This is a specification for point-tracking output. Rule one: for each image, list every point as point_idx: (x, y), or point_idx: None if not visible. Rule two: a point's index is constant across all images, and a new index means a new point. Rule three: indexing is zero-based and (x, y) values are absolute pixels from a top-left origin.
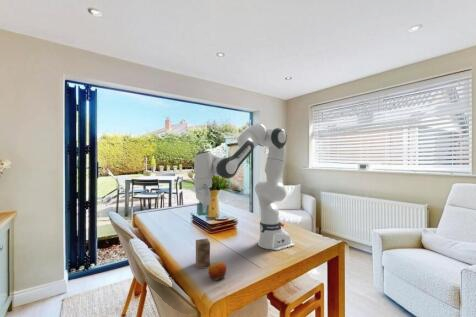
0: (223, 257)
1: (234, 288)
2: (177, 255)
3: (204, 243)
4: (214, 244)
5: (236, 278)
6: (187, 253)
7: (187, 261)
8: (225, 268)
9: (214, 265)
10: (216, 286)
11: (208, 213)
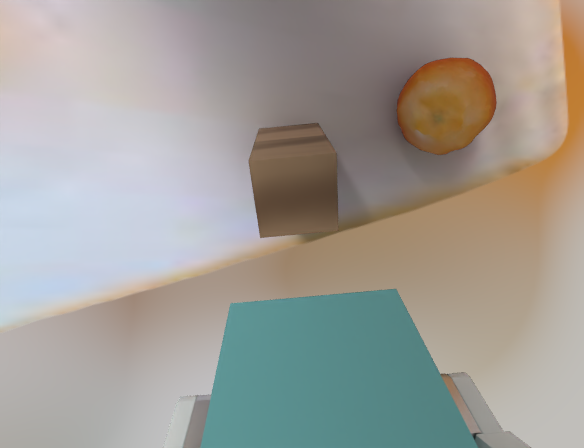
0: (226, 23)
1: (547, 41)
2: (171, 255)
3: (336, 190)
4: (10, 46)
5: (478, 5)
6: (152, 215)
7: (240, 217)
8: (481, 66)
9: (474, 131)
10: (491, 119)
11: (403, 307)
